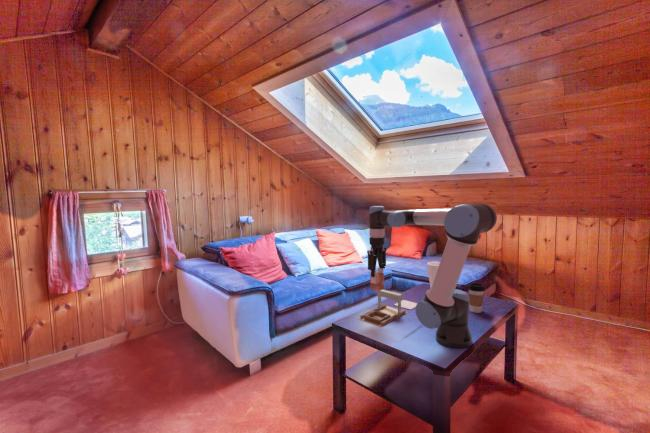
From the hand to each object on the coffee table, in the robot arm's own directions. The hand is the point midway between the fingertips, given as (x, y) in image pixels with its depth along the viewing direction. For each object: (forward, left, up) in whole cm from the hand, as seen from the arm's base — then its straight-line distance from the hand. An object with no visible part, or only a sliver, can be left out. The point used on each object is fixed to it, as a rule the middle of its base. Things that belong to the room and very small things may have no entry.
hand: (377, 281), depth 166 cm
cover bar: (+10, -5, -18) cm, 21 cm away
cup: (+46, -31, -21) cm, 60 cm away
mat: (+28, -14, -21) cm, 38 cm away
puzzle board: (+5, -3, -21) cm, 22 cm away
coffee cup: (+28, -51, -21) cm, 62 cm away
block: (0, 0, -4) cm, 4 cm away
